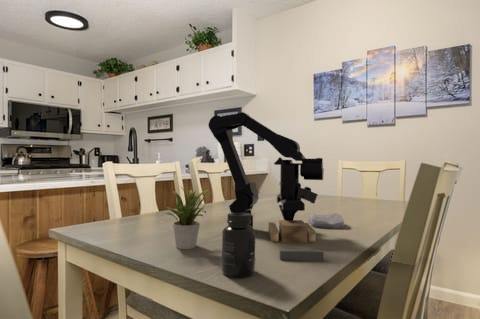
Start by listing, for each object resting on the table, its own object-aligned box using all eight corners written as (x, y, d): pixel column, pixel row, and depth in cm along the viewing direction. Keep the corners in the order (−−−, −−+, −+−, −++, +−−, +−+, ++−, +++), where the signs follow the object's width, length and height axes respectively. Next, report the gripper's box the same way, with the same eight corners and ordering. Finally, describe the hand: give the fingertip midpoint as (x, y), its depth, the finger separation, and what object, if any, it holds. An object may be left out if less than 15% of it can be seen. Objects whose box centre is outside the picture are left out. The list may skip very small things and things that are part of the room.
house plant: (225, 241, 85) (226, 183, 85) (206, 256, 71) (206, 188, 71) (179, 237, 89) (180, 182, 89) (153, 251, 76) (154, 185, 76)
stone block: (346, 234, 103) (339, 222, 113) (347, 221, 102) (340, 210, 112) (311, 234, 104) (307, 223, 114) (311, 221, 103) (307, 211, 113)
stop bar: (280, 259, 70) (280, 251, 70) (279, 257, 71) (279, 249, 71) (323, 260, 70) (323, 251, 70) (321, 258, 71) (321, 249, 71)
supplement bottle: (259, 276, 60) (260, 216, 60) (226, 280, 58) (227, 217, 58) (248, 265, 66) (249, 210, 66) (218, 268, 64) (219, 211, 64)
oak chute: (271, 241, 86) (271, 230, 86) (268, 231, 98) (268, 222, 98) (315, 242, 85) (315, 231, 85) (307, 232, 97) (307, 222, 97)
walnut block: (282, 243, 85) (282, 225, 85) (279, 236, 93) (279, 220, 93) (307, 243, 85) (307, 226, 85) (301, 236, 93) (302, 220, 93)
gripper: (322, 181, 85) (322, 236, 85) (308, 177, 104) (308, 223, 104) (283, 181, 85) (283, 236, 85) (276, 177, 104) (276, 222, 104)
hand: (289, 228), depth 95 cm, fingers closed
